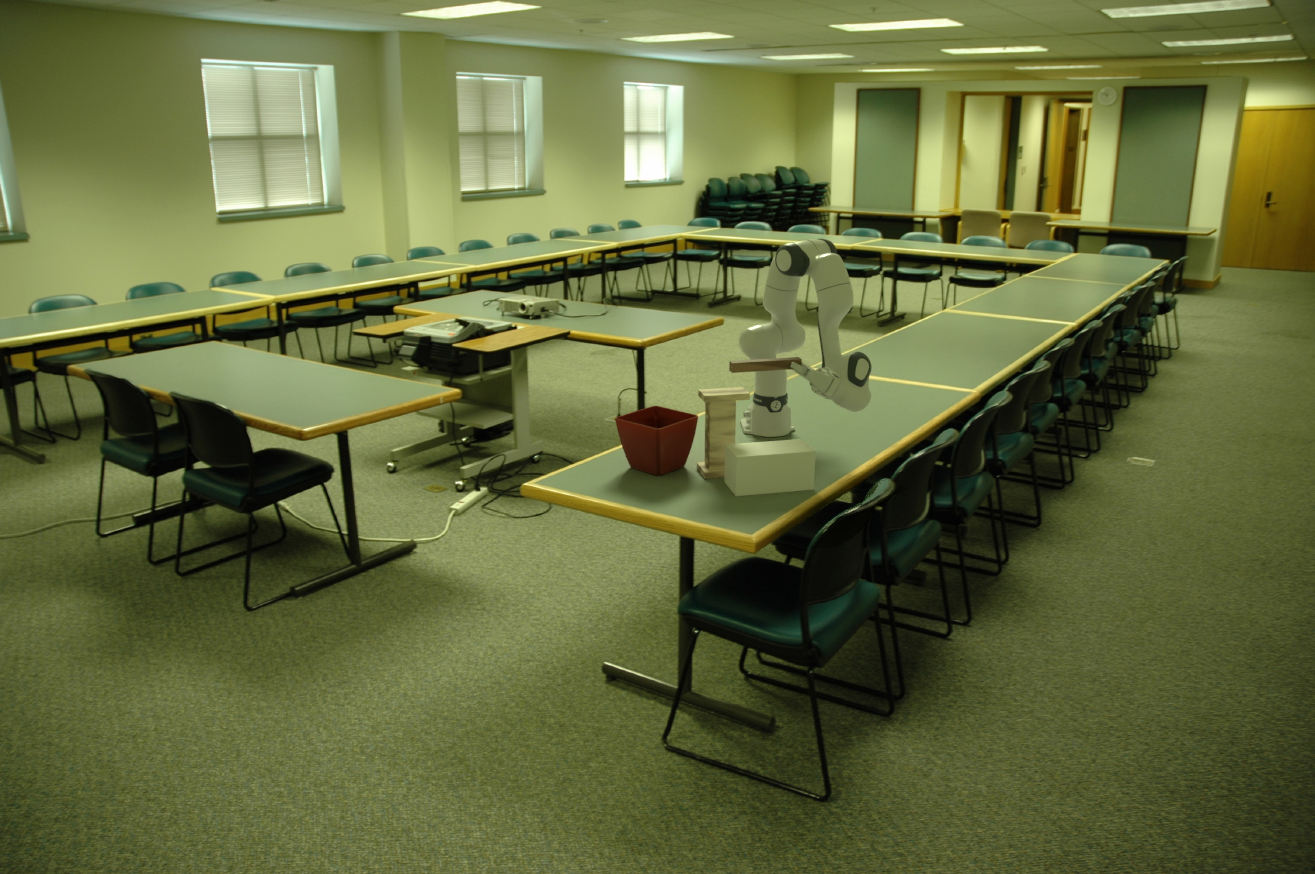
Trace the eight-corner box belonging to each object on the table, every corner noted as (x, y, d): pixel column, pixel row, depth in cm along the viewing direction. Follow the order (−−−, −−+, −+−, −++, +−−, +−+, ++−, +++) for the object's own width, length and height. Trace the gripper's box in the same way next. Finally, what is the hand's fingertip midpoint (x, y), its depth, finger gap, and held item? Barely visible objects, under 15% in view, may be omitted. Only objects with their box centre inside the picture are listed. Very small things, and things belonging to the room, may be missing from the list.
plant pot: (614, 468, 291) (613, 417, 286) (655, 453, 305) (655, 404, 299) (658, 482, 279) (658, 429, 274) (699, 466, 292) (699, 415, 287)
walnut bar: (729, 370, 279) (729, 361, 278) (797, 366, 284) (798, 357, 283) (732, 372, 276) (732, 363, 276) (801, 368, 281) (801, 359, 280)
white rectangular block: (724, 482, 278) (725, 444, 275) (799, 476, 283) (800, 438, 279) (735, 496, 267) (736, 457, 263) (813, 489, 272) (815, 451, 268)
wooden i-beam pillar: (696, 468, 290) (697, 388, 282) (739, 464, 293) (741, 386, 285) (705, 479, 281) (705, 396, 273) (748, 475, 284) (750, 394, 276)
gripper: (817, 365, 294) (782, 346, 290) (842, 380, 275) (805, 360, 271) (807, 382, 295) (772, 363, 291) (831, 398, 276) (794, 378, 272)
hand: (788, 362), depth 281 cm, fingers closed on walnut bar, 3 cm apart
